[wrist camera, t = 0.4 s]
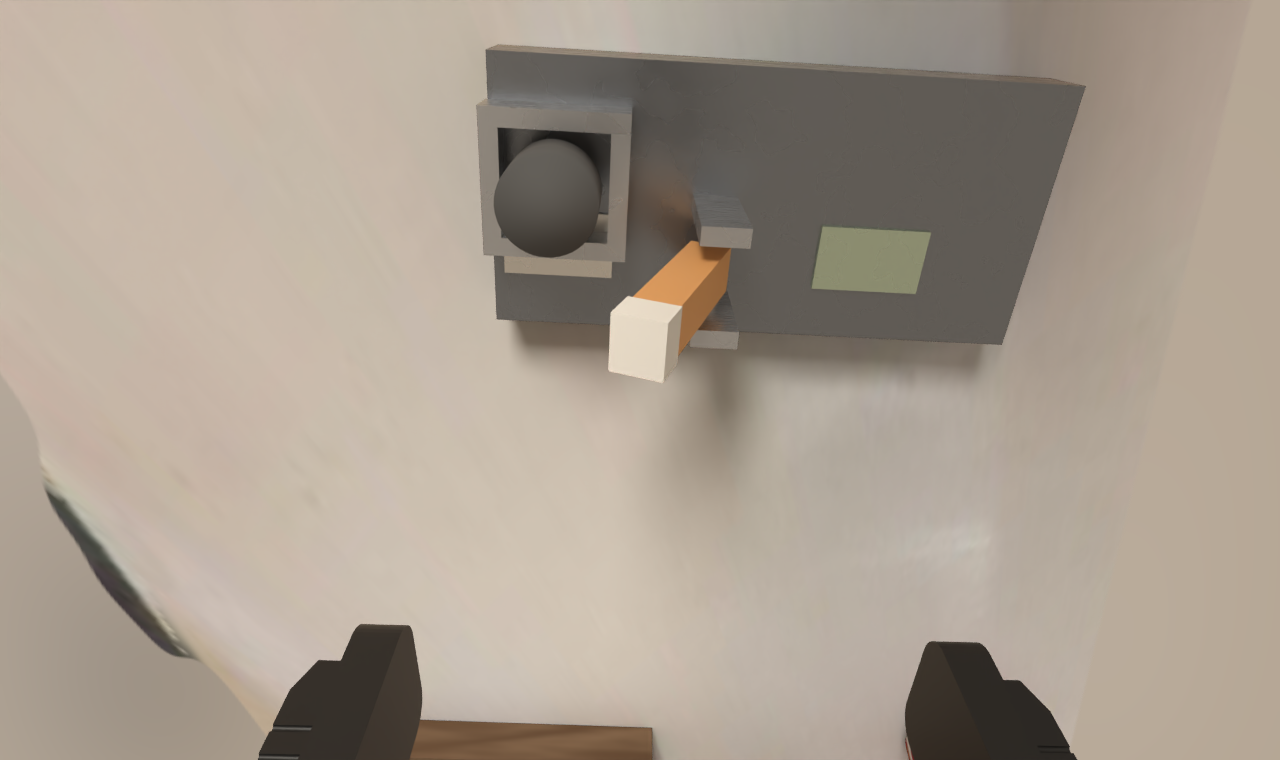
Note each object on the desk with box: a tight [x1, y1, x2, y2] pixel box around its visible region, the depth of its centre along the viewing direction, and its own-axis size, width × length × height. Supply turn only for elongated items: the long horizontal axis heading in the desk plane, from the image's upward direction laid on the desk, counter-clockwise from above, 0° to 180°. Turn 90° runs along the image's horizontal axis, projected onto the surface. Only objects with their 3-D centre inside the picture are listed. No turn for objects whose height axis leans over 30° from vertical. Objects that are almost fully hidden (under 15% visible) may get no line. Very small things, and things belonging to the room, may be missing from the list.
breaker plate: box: [476, 45, 1086, 350], centre depth 32 cm, size 12×25×8 cm, turn 87°
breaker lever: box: [608, 241, 731, 383], centre depth 28 cm, size 2×2×9 cm
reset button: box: [494, 139, 602, 258], centre depth 29 cm, size 4×4×3 cm
